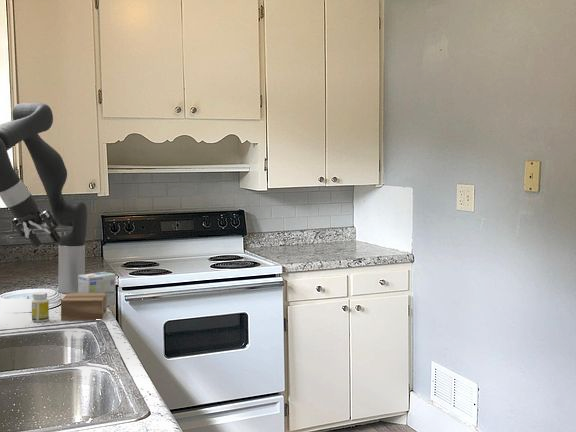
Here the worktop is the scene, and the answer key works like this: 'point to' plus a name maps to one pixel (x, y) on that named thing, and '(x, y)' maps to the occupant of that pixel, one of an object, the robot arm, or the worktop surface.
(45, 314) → the supplement bottle
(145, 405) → the worktop surface
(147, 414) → the worktop surface
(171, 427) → the worktop surface
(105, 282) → the light bulb box
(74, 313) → the walnut block
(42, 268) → the worktop surface
